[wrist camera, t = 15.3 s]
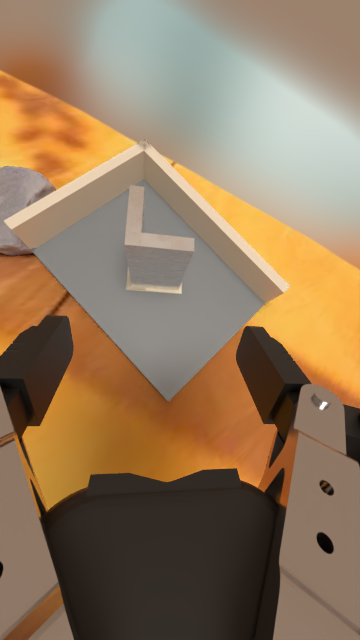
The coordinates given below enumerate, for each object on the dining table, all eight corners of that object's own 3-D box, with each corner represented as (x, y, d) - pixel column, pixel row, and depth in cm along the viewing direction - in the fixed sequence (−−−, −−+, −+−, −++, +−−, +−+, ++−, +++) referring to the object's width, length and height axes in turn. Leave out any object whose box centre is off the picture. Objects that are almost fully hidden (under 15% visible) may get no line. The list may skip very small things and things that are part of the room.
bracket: (131, 286, 26) (124, 244, 17) (134, 244, 27) (129, 184, 18) (178, 290, 27) (194, 251, 18) (179, 248, 28) (194, 193, 19)
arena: (29, 248, 26) (3, 220, 21) (144, 175, 31) (144, 139, 26) (167, 400, 25) (172, 408, 20) (266, 300, 29) (290, 286, 25)
